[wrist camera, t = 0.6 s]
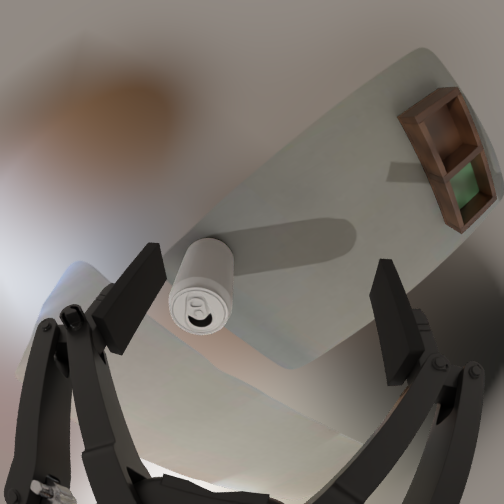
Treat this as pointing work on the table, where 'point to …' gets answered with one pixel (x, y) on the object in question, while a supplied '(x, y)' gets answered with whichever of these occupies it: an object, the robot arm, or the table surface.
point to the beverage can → (203, 288)
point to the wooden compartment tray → (451, 156)
